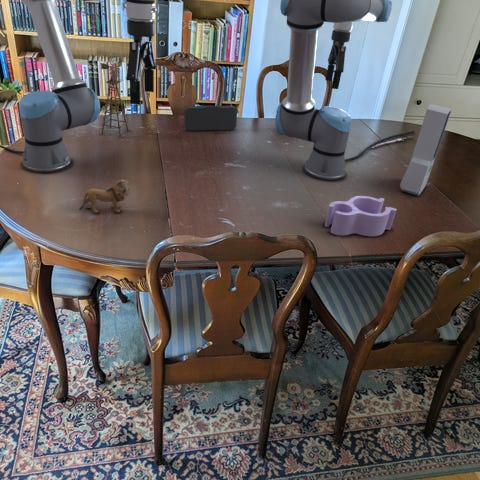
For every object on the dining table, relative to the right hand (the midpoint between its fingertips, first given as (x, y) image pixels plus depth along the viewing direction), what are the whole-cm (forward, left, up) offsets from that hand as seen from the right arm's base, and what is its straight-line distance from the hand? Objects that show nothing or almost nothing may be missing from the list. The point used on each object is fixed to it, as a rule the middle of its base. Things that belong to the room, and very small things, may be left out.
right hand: (331, 84), depth 198 cm
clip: (+39, +69, -23) cm, 83 cm away
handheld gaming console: (+46, -19, -23) cm, 55 cm away
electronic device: (0, +55, -23) cm, 60 cm away
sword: (-27, +18, -23) cm, 39 cm away
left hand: (+90, +21, +6) cm, 93 cm away
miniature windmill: (+86, -26, -23) cm, 93 cm away
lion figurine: (+106, +34, -23) cm, 114 cm away
